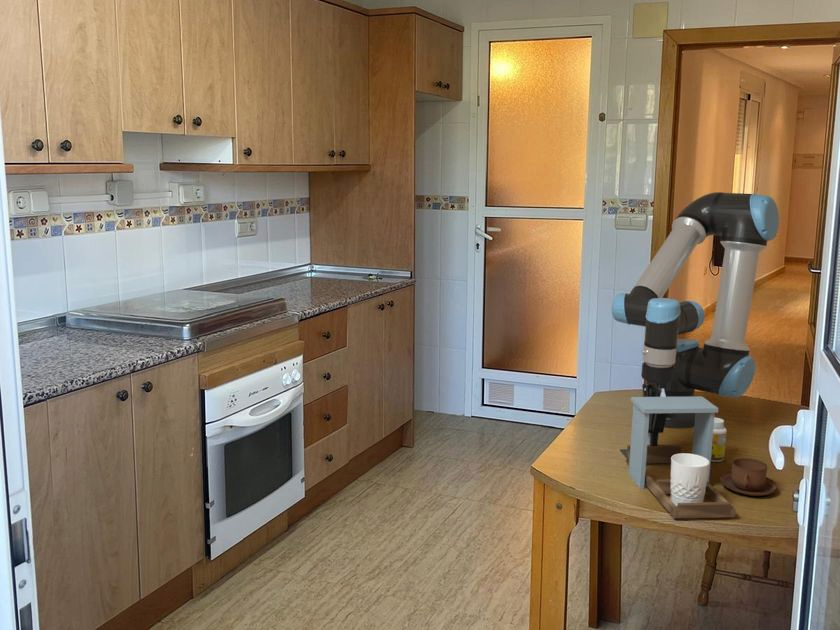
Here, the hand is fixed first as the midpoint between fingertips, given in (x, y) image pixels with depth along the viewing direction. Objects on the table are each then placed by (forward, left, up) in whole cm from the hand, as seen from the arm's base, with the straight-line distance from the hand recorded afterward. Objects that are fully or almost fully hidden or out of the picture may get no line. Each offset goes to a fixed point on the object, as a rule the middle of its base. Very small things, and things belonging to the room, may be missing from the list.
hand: (650, 456), depth 205 cm
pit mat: (-2, -4, -2) cm, 4 cm away
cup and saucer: (-10, +21, -2) cm, 24 cm away
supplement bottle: (-17, +3, -2) cm, 17 cm away
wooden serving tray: (+5, +15, -1) cm, 16 cm away
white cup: (+8, +22, -2) cm, 23 cm away
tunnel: (+3, +10, -2) cm, 11 cm away
